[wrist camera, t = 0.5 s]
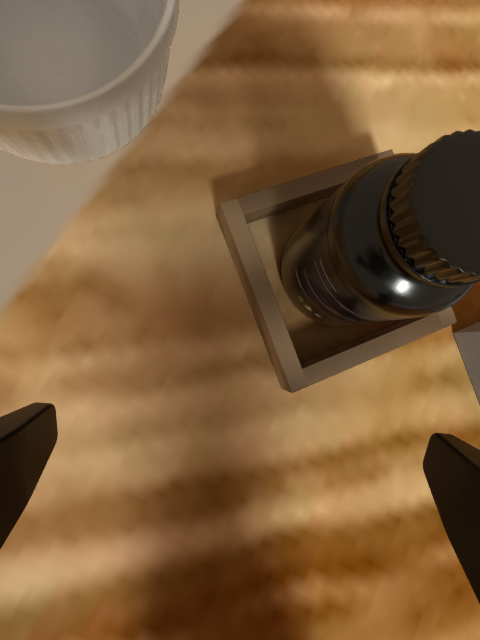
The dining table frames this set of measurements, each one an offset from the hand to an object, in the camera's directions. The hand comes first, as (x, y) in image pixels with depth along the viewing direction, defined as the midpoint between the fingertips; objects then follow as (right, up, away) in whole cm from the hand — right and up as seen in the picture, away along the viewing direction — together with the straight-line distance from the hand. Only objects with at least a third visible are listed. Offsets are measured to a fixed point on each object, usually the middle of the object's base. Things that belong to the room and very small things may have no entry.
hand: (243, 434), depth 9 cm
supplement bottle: (+5, +6, +15) cm, 17 cm away
